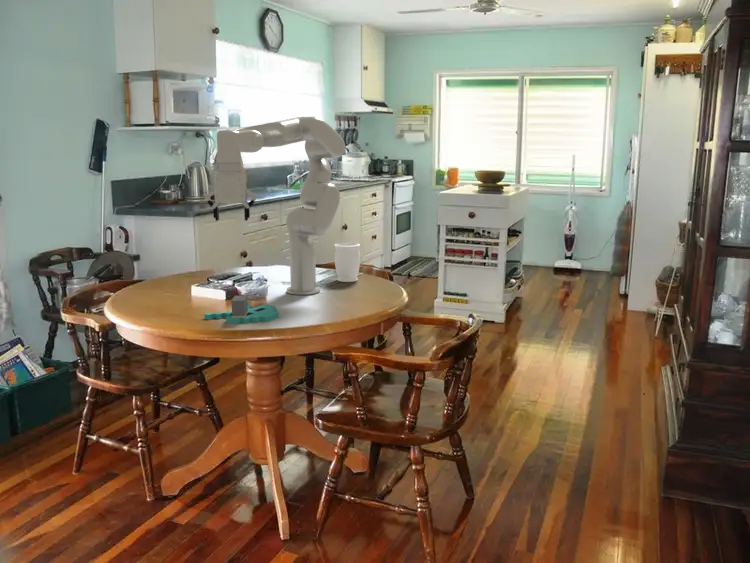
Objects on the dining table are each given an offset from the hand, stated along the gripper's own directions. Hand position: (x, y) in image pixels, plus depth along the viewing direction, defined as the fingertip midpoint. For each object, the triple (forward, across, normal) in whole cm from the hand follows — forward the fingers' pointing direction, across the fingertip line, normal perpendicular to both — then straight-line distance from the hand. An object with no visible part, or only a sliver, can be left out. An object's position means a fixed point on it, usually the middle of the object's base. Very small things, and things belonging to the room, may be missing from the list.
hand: (231, 220), depth 228 cm
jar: (+31, +39, +44) cm, 66 cm away
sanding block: (+29, +4, -15) cm, 33 cm away
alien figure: (+31, +6, -10) cm, 33 cm away
